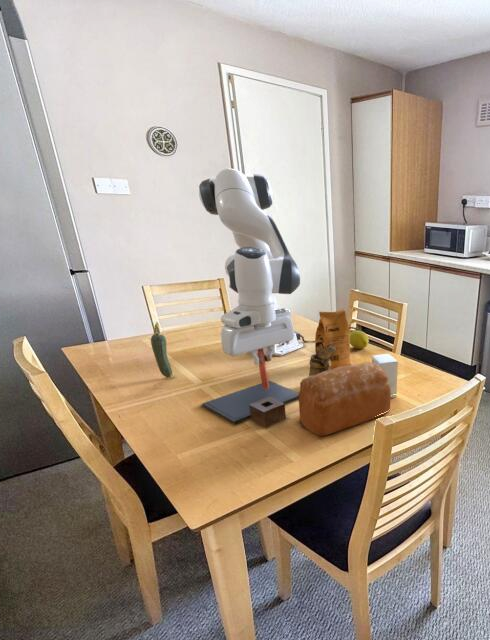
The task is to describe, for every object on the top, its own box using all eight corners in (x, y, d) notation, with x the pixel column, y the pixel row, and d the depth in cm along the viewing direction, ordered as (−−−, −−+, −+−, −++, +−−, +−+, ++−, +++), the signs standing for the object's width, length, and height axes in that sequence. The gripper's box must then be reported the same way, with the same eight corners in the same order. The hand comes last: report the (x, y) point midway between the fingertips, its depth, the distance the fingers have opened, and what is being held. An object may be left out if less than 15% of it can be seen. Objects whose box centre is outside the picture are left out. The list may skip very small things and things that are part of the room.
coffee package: (313, 363, 161) (310, 309, 152) (341, 358, 168) (340, 305, 159) (323, 372, 154) (321, 315, 145) (352, 366, 161) (352, 311, 152)
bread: (394, 413, 127) (396, 366, 121) (320, 440, 110) (317, 388, 104) (368, 397, 136) (368, 353, 130) (295, 420, 119) (292, 371, 113)
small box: (396, 397, 137) (398, 361, 132) (379, 400, 135) (380, 363, 129) (387, 387, 144) (388, 353, 139) (370, 390, 141) (371, 355, 136)
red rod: (266, 387, 117) (259, 341, 112) (270, 388, 116) (263, 341, 111) (261, 389, 115) (253, 342, 110) (265, 390, 114) (257, 343, 109)
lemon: (372, 350, 180) (372, 332, 177) (357, 353, 175) (357, 335, 172) (359, 343, 187) (359, 326, 184) (344, 346, 183) (344, 329, 179)
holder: (271, 411, 124) (269, 396, 122) (286, 418, 120) (284, 403, 118) (250, 419, 118) (248, 404, 116) (265, 427, 115) (264, 412, 113)
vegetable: (167, 381, 139) (154, 324, 131) (156, 380, 140) (143, 323, 131) (176, 377, 143) (165, 321, 135) (165, 375, 144) (153, 320, 135)
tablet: (269, 383, 142) (269, 380, 142) (301, 397, 134) (301, 394, 133) (202, 406, 124) (201, 403, 124) (234, 424, 116) (234, 421, 115)
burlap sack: (318, 399, 133) (316, 347, 126) (303, 384, 143) (300, 335, 136) (343, 393, 138) (342, 343, 130) (327, 379, 148) (325, 332, 140)
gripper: (282, 304, 116) (286, 350, 122) (214, 318, 101) (222, 369, 106) (297, 308, 113) (300, 355, 118) (229, 323, 97) (236, 376, 103)
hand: (263, 362), depth 112 cm, fingers closed on red rod, 2 cm apart
